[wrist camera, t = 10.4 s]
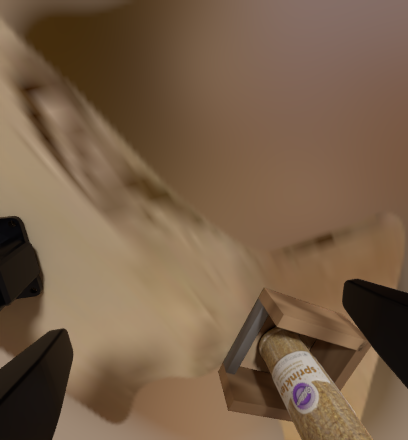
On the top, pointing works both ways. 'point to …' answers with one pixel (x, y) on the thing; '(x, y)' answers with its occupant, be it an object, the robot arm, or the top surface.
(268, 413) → the cradle
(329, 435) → the sprinkles bottle
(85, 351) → the top surface
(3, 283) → the robot arm
